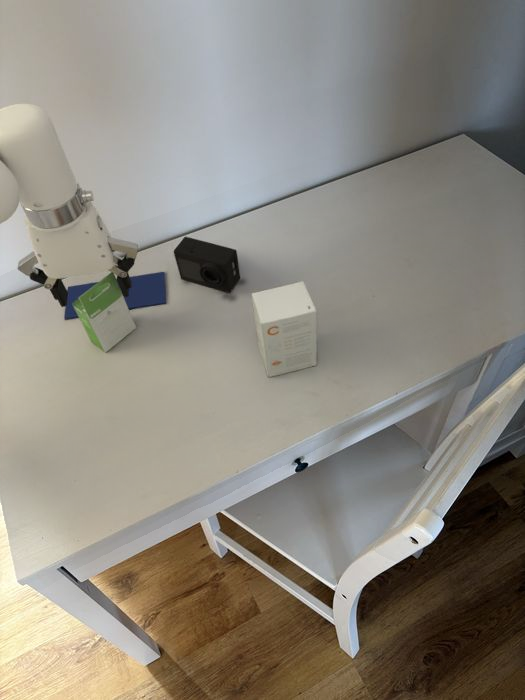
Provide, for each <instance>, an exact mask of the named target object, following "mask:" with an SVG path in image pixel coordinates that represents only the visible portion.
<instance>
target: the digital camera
mask: <svg viewBox="0 0 525 700" xmlns="http://www.w3.org/2000/svg"><path fill="white" fill-rule="evenodd" d="M173 256H174V259H175V263H176V266H177V269H178V273H179V277H180V280H183V281H185V282H189V283H192V284H195V285H199V286H202V287H206V288H209V289H212V290H216V291H220V292H223V293H227V294H231V293H232V292H233V290H234V288H235V287H236V285H237V284H238V283H239V281H240V279H241V273H240V266H239V265H240V264H239V259H238V252H237V249H235V248H231V247H227V246H223V245H220V244H216V243H213V242H208V241H205V240H201V239H197V238H193V237H188V236H184V237H183V238H182V239H181V241H180V242H179V243H178V245H177V246H176V247H175V248H174V250H173Z"/></svg>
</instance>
